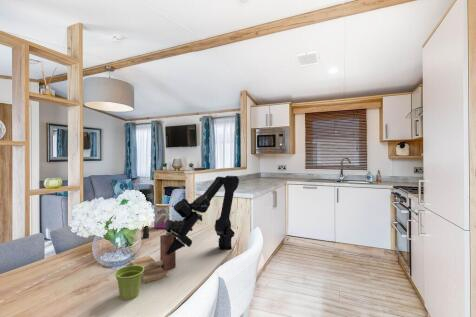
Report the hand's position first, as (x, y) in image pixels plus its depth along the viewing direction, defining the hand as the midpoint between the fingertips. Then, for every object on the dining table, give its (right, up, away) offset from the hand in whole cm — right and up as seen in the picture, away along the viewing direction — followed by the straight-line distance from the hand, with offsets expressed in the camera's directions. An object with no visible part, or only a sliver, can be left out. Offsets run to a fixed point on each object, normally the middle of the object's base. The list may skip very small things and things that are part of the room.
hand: (165, 252), depth 104 cm
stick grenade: (-25, -8, +42) cm, 49 cm away
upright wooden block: (-3, -7, -2) cm, 8 cm away
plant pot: (-6, -7, -21) cm, 23 cm away
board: (-7, -7, -1) cm, 10 cm away
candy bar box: (-21, -8, +63) cm, 67 cm away
